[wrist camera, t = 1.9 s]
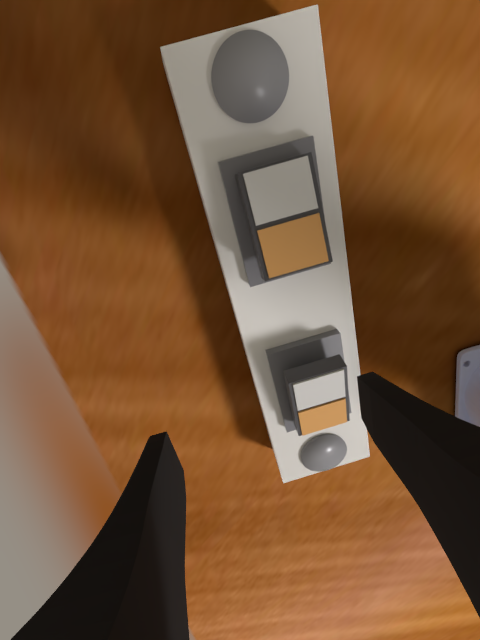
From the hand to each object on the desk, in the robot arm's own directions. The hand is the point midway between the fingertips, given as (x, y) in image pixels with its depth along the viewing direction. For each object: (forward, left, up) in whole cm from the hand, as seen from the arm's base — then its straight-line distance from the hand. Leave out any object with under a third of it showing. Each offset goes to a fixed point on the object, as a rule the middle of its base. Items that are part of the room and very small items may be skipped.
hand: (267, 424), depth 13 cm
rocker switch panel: (+1, -3, -9) cm, 10 cm away
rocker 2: (-4, -3, -5) cm, 7 cm away
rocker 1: (+6, -3, -5) cm, 8 cm away
